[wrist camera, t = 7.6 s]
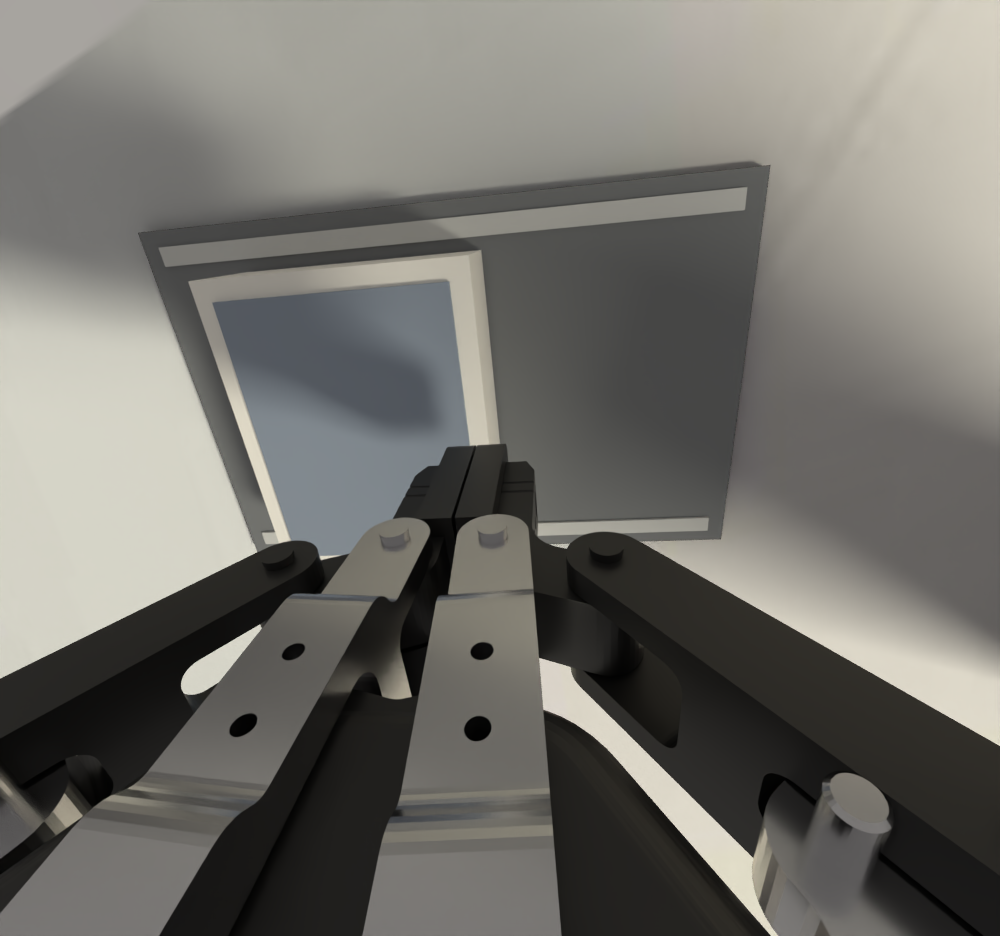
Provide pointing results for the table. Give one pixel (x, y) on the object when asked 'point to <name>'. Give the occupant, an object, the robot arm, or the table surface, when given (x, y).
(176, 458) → the table surface
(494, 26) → the table surface
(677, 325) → the mat
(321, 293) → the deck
